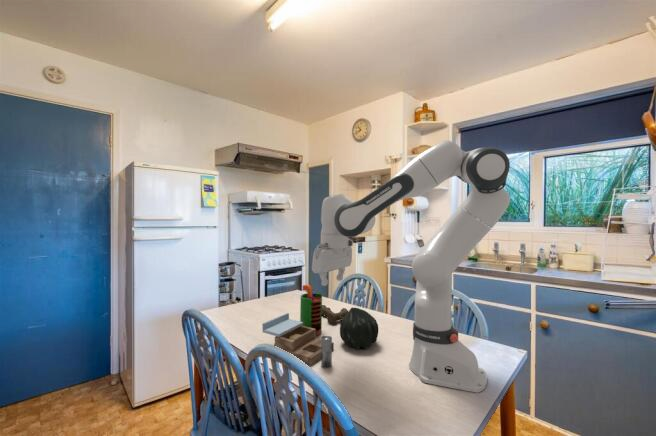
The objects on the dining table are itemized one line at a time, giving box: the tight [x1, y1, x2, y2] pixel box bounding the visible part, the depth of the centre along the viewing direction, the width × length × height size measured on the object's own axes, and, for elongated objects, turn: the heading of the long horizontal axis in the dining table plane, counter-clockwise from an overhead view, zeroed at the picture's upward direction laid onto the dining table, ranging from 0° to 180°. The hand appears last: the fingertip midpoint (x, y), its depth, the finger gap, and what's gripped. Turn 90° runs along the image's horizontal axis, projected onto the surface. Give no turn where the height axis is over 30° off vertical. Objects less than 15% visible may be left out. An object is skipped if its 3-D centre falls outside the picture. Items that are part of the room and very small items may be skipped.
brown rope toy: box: [322, 304, 349, 326], centre depth 140 cm, size 6×10×20 cm
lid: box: [262, 312, 303, 337], centre depth 113 cm, size 8×14×3 cm, turn 148°
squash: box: [339, 307, 379, 350], centre depth 114 cm, size 14×15×15 cm
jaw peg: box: [320, 335, 333, 369], centre depth 98 cm, size 3×3×9 cm
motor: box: [299, 284, 323, 338], centre depth 124 cm, size 10×9×20 cm
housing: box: [274, 326, 335, 367], centre depth 107 cm, size 16×14×6 cm
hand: (332, 282), depth 102 cm, fingers open, 8 cm apart
